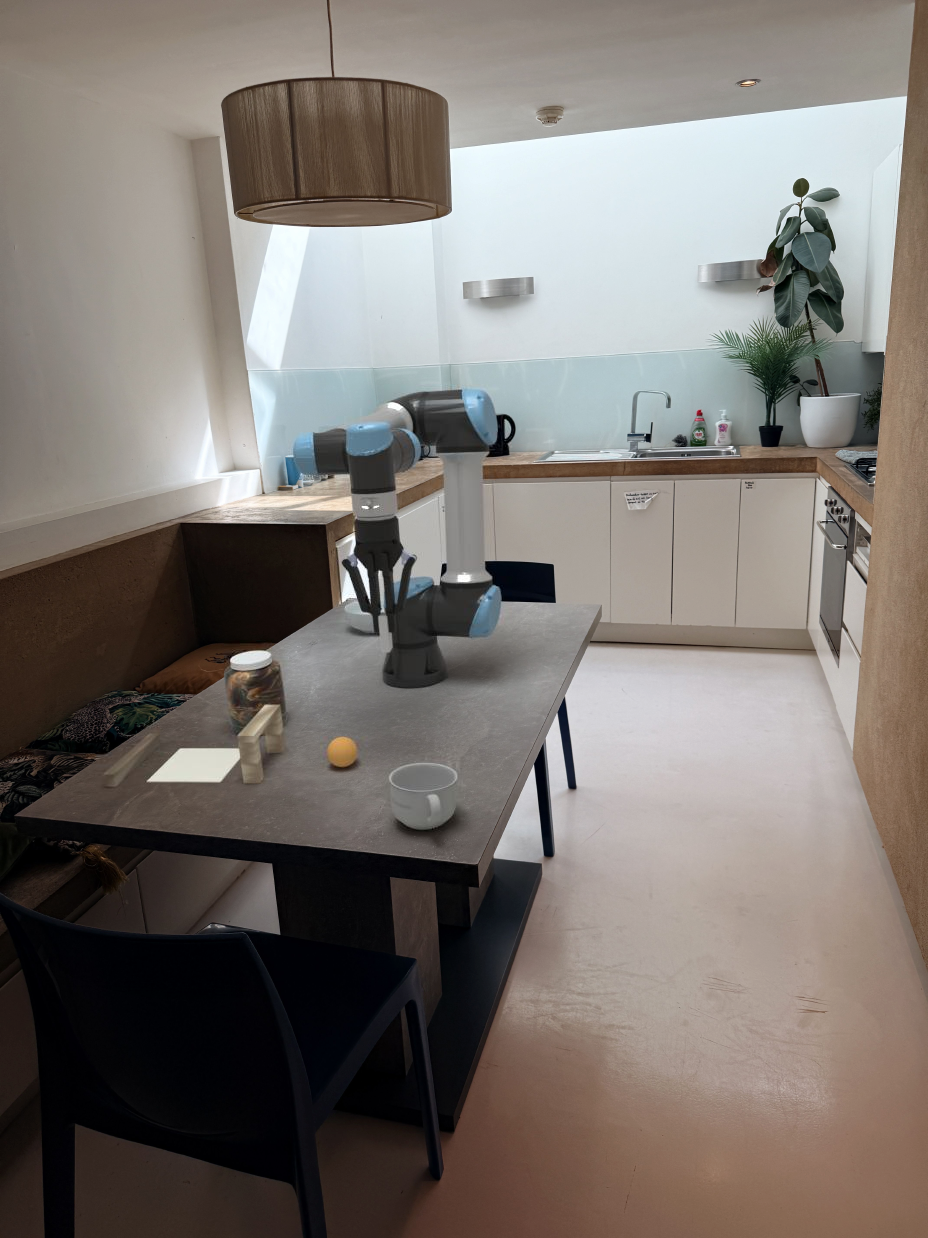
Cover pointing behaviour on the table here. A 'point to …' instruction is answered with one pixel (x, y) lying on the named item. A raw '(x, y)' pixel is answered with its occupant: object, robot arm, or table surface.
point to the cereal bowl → (360, 617)
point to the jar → (253, 687)
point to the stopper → (131, 760)
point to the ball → (342, 752)
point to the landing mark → (198, 765)
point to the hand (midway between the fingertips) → (387, 649)
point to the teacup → (423, 794)
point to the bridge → (249, 742)
